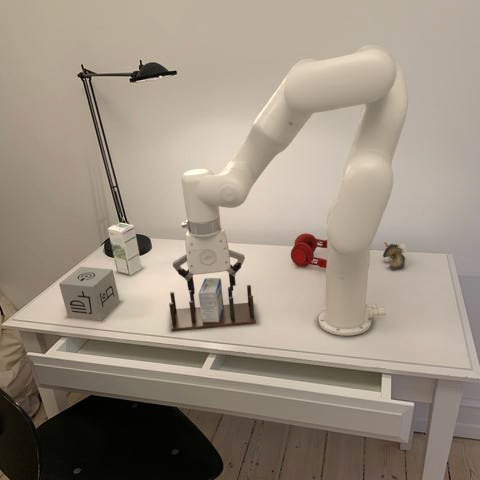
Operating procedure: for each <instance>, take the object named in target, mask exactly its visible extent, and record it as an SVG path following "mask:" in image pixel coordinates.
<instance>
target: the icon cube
mask: <svg viewBox="0 0 480 480" xmlns="http://www.w3.org/2000/svg"><path fill="white" fill-rule="evenodd" d="M116 283H117V282H116V277H115V274H114V270H113V268H102V267H101V268H99V267H88V266H87V267H86V266H79V267H78V268H76V269H75V270H74V271H72V273H70V274H69V275H67V276H66V277H65V278H64V279H63V280H61V281H60V282H59V283H58V286H59V289H60V293H61V296H62V300H63V303H64V307H65V311H66V314H67V318H74V319H81V320H82V319H83V320H92V321H99V322H101V321H103V320H104V319H105V318H106V317H107V316H108V314H110V312H112V311H113V310H114V309H115V308H116V306H118V304H119V303H120V297H119V292H118V287H117V284H116Z"/></svg>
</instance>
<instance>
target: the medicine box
mask: <svg viewBox="0 0 480 480" xmlns="http://www.w3.org/2000/svg"><path fill="white" fill-rule="evenodd" d="M198 302H199V307H200V310H201V317H202V322H219V321H220V317H221V314H222V311H223V307H224V305H225V304H224V295H223V286H222V278H220V277H205V278H204V279H203V282H202V284H201V287H200V289H199V291H198Z"/></svg>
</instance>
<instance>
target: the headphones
mask: <svg viewBox="0 0 480 480" xmlns="http://www.w3.org/2000/svg"><path fill="white" fill-rule="evenodd" d="M317 248H321V249H327V239H320V238H316V236H314V235H313V234H311V233H305V232H304V233H302V234H301V233H300V234H299V235H297V237H296V239H295V240H294V245H293V247H292V249H291V251H290V258H291V261H292V263H293V264H294V265H296V266H298V267H307V266H309V265H310V266H315V267H318V268H321V269H326V265H327V259H325V258H321V257H316V256H314V255H315V254H314V252H315V251H316V250H317Z"/></svg>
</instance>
